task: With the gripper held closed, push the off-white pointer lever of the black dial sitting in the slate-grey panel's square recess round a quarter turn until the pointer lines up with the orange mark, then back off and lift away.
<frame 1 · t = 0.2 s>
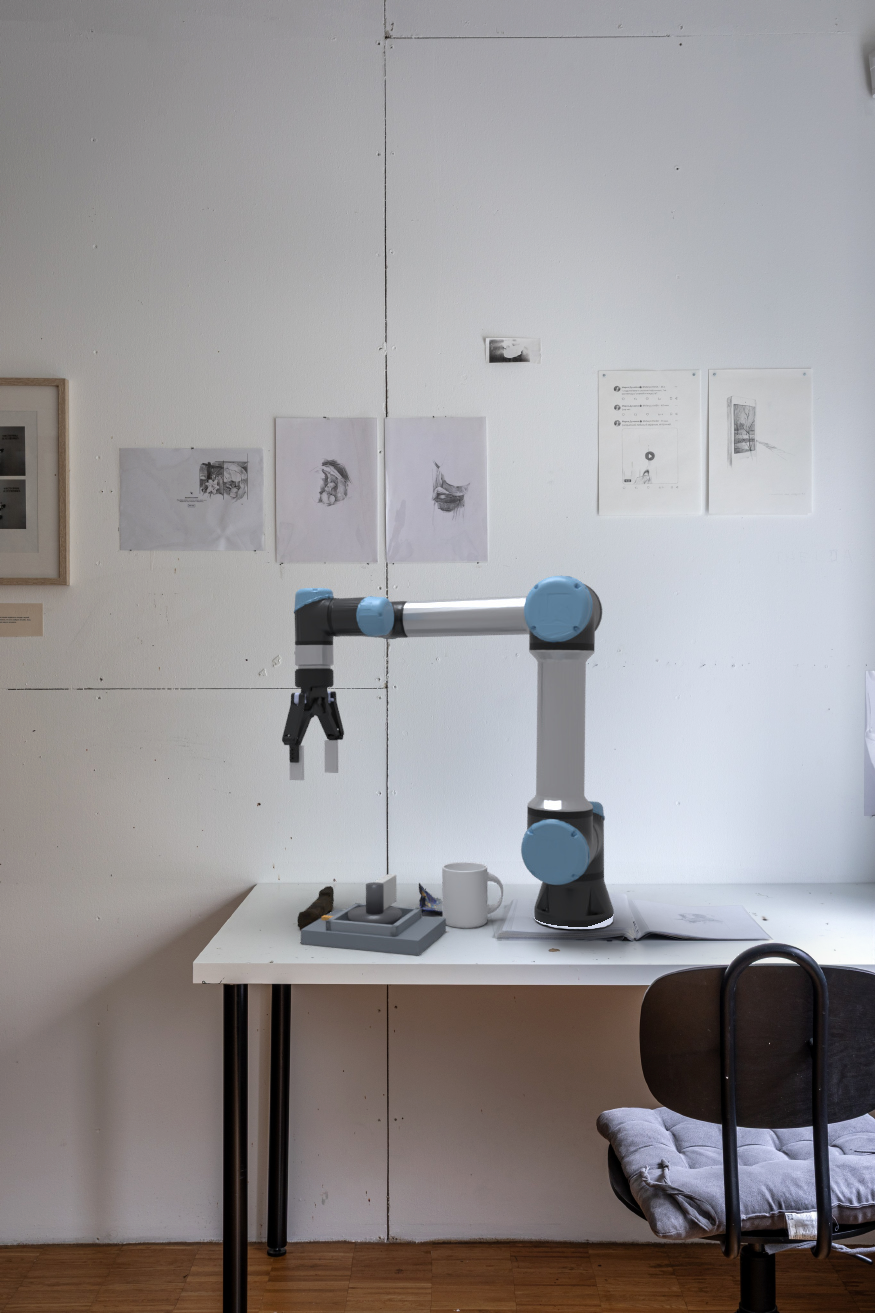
hand: (314, 776, 183), 28 cm above the table, tool pointing down, fingers open, 13 cm apart
panel: (374, 937, 168), on the table
mug: (473, 923, 179), on the table
snack package: (439, 912, 188), on the table
dark brown lumpy bar: (317, 919, 182), on the table
dial: (378, 901, 170), point 6 cm above the table, hinge at 0.0°
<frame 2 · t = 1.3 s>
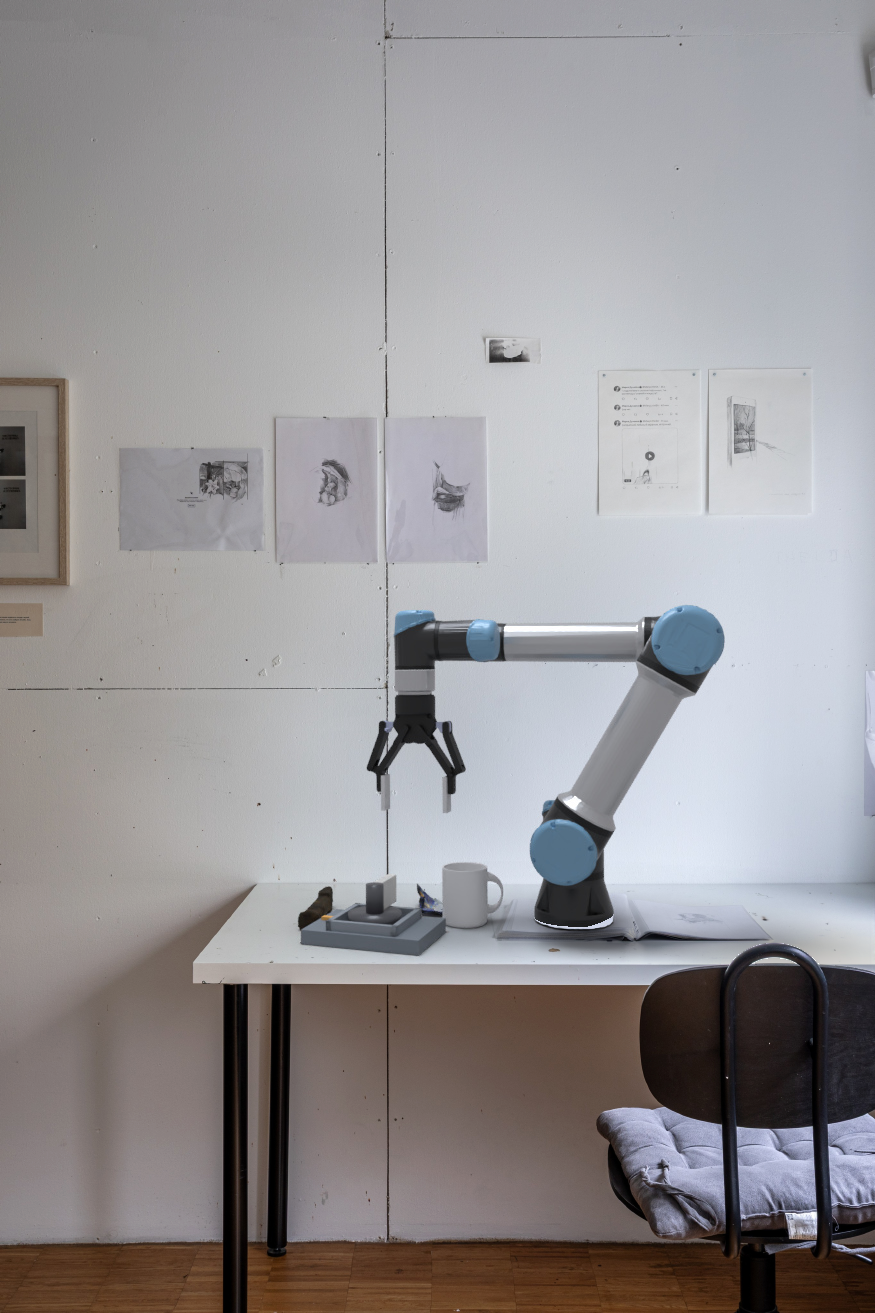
hand: (416, 811, 174), 22 cm above the table, tool pointing down, fingers open, 11 cm apart
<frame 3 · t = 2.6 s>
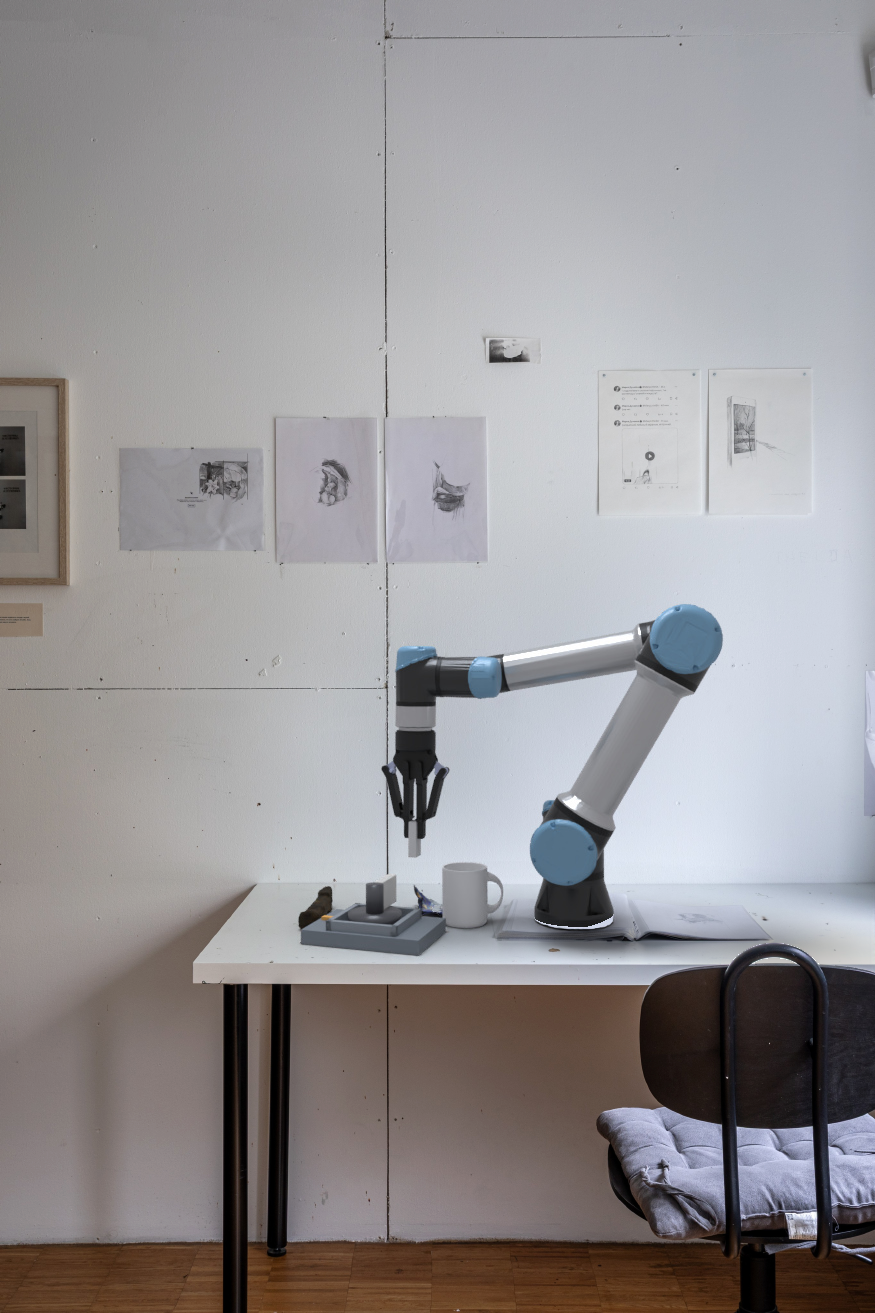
hand: (414, 856, 174), 14 cm above the table, tool pointing down, fingers closed
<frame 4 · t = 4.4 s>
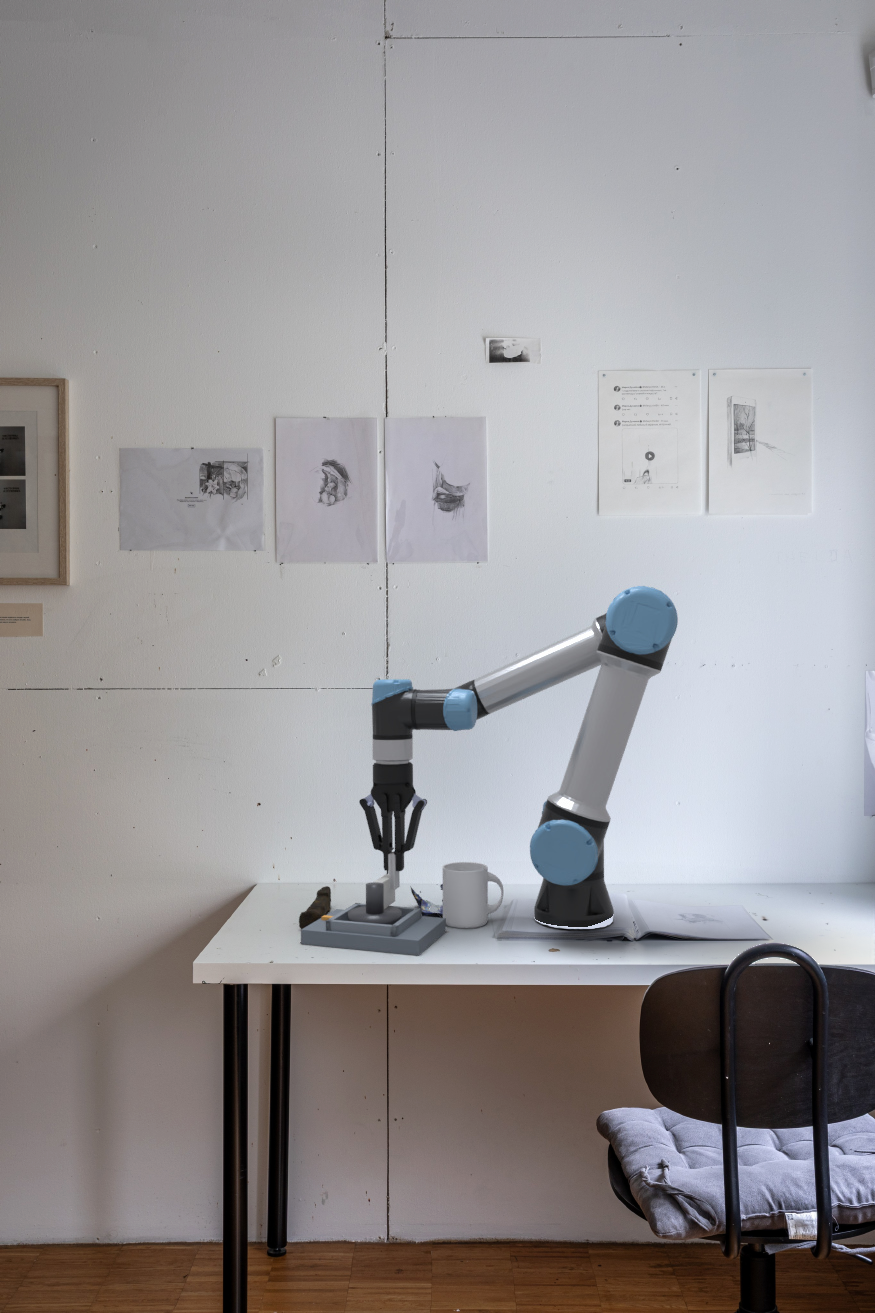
hand: (394, 888, 174), 8 cm above the table, tool pointing down, fingers closed
mug: (473, 923, 179), on the table, touching snack package
snack package: (435, 915, 186), on the table, touching mug
dial: (378, 900, 170), point 6 cm above the table, hinge at 1.7°, touching gripper
everything else where it was.
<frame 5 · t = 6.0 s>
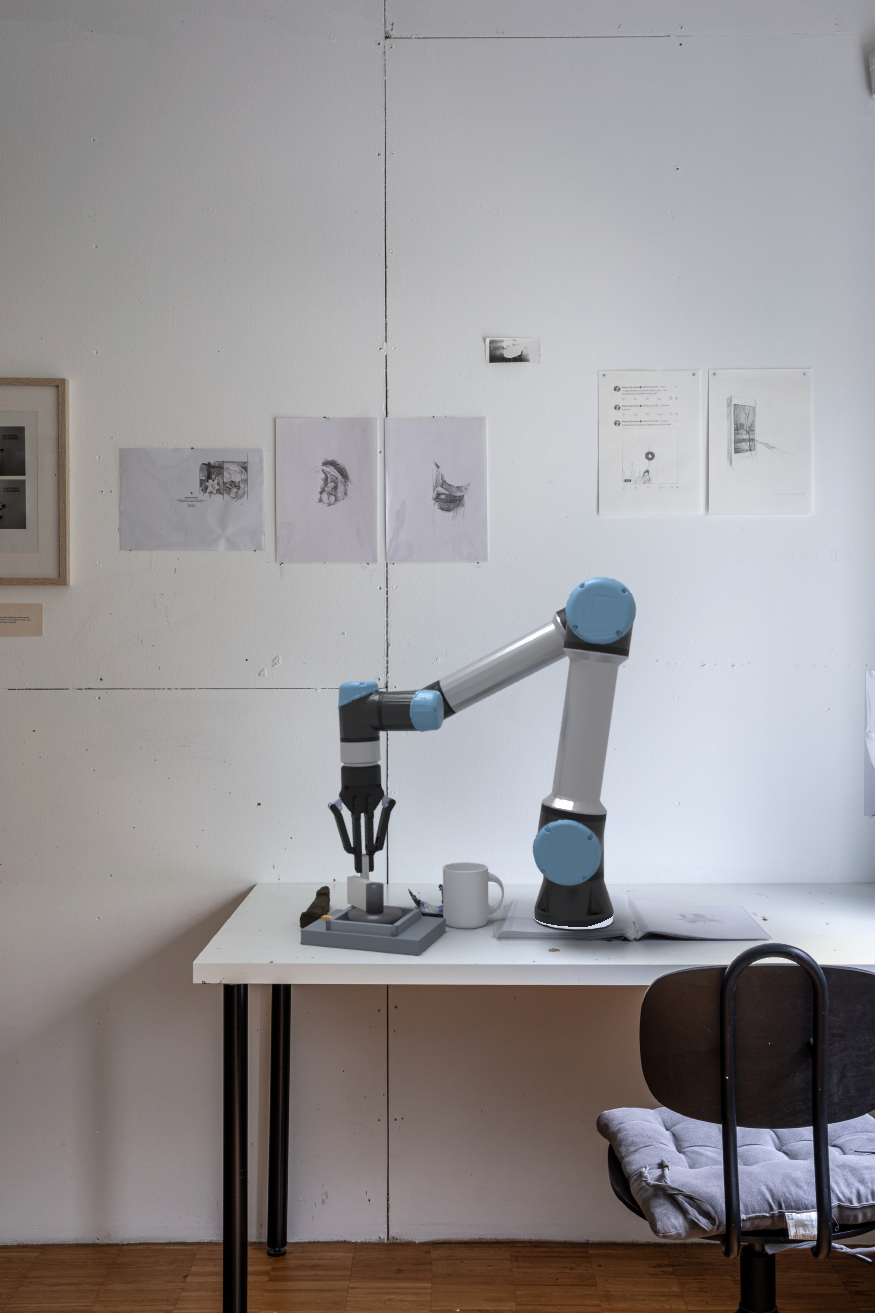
hand: (364, 889, 175), 7 cm above the table, tool pointing down, fingers closed
mug: (474, 923, 178), on the table
snack package: (434, 915, 186), on the table
dial: (369, 901, 170), point 6 cm above the table, hinge at 53.3°, touching gripper
everything else where it was.
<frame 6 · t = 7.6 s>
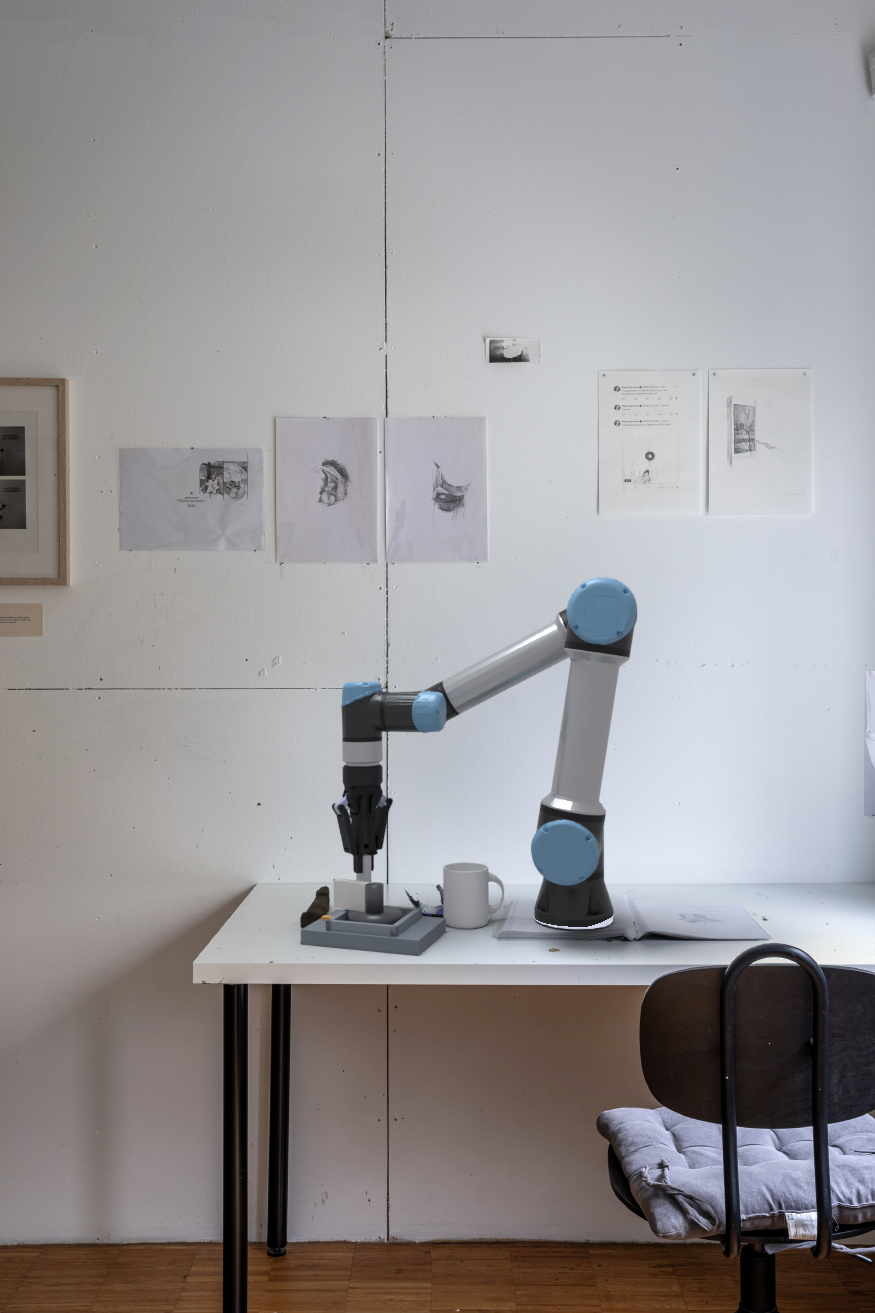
hand: (363, 889, 175), 7 cm above the table, tool pointing down, fingers closed
dial: (366, 902, 169), point 6 cm above the table, hinge at 77.8°
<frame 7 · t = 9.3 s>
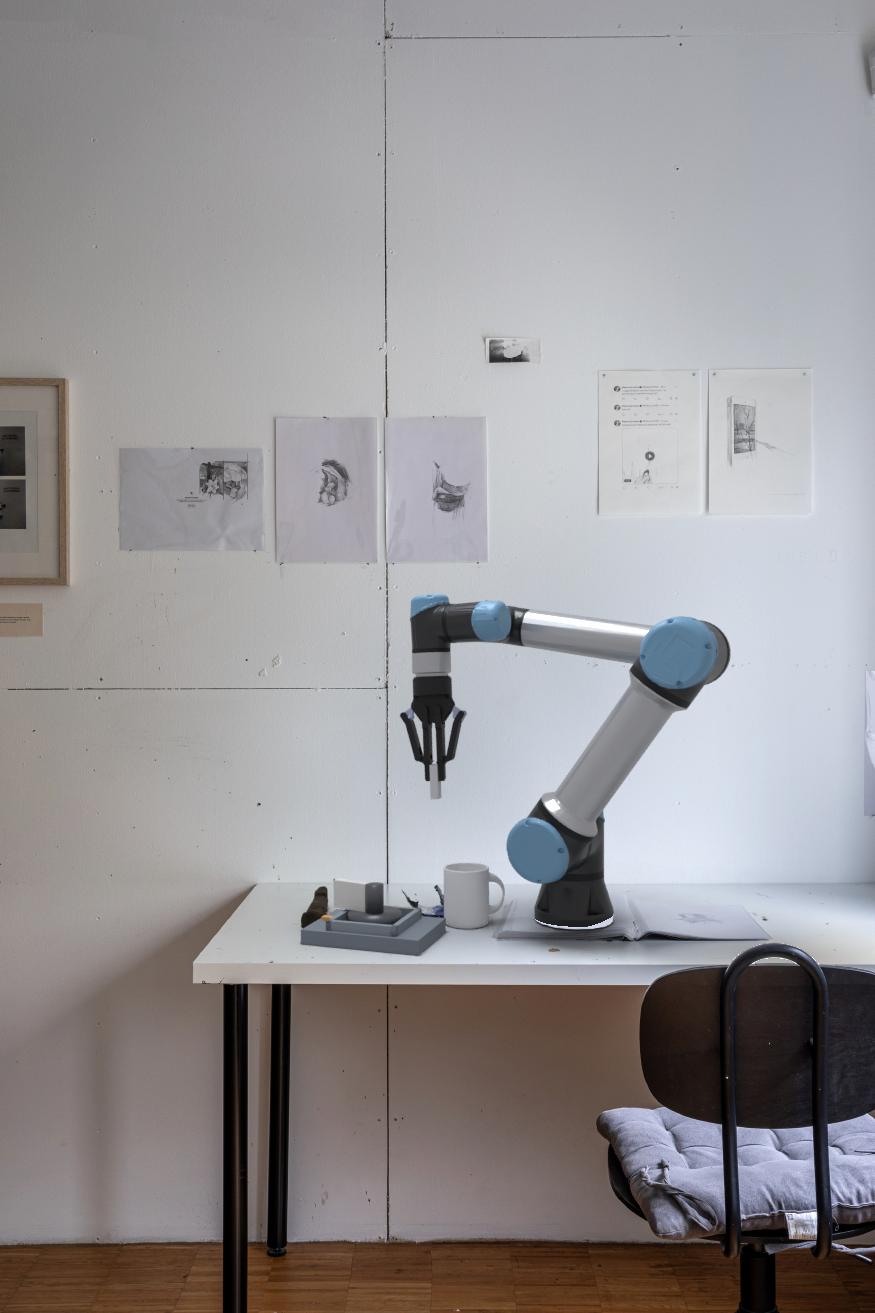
hand: (436, 798, 179), 24 cm above the table, tool pointing down, fingers closed
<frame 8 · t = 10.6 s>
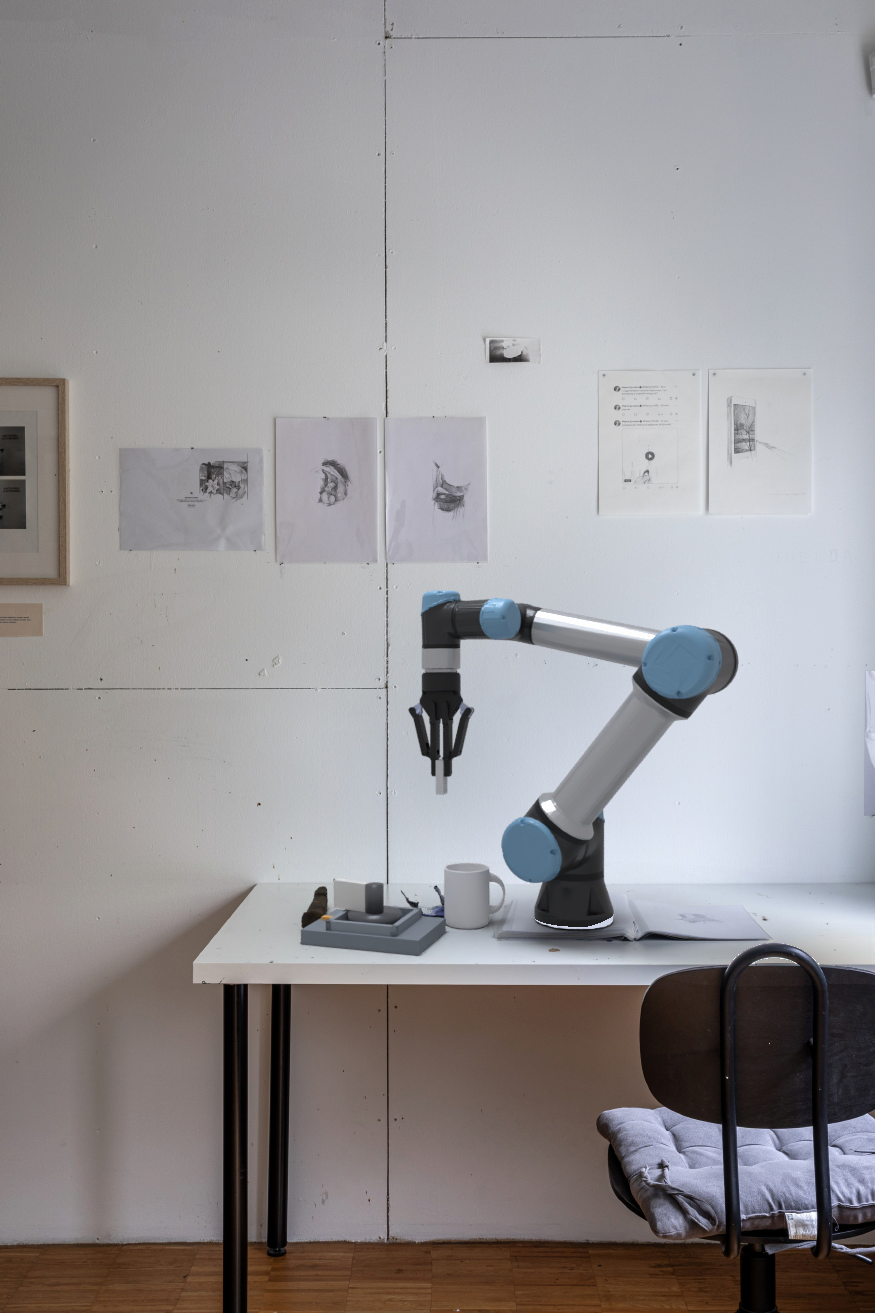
hand: (441, 793, 180), 24 cm above the table, tool pointing down, fingers closed
at the end: dial at +78° (first picture: +0°) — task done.
